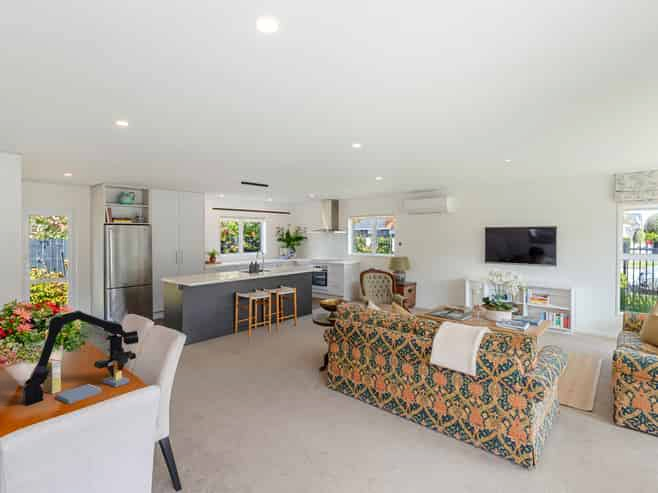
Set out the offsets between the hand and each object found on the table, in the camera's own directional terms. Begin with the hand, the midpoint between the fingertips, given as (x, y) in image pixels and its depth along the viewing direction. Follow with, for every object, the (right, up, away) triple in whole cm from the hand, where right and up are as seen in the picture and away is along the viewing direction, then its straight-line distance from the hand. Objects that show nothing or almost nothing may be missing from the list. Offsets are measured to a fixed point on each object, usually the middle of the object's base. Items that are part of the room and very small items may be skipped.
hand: (116, 376), depth 183 cm
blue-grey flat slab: (-9, -4, -15) cm, 18 cm away
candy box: (-26, -4, -10) cm, 28 cm away
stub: (0, -3, 0) cm, 3 cm away
